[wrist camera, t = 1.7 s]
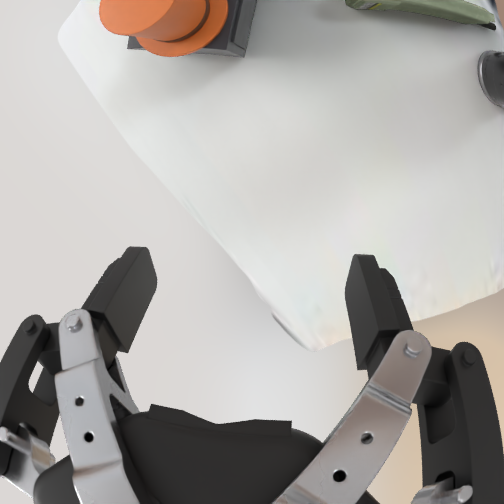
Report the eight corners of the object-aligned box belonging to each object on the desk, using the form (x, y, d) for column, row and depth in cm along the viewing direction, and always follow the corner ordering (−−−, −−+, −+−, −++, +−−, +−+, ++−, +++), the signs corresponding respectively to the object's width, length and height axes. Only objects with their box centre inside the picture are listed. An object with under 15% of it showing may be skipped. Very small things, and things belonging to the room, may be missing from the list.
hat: (237, -24, 14) (215, -60, 7) (218, 59, 19) (187, 53, 13) (145, -20, 14) (97, -39, 7) (130, 57, 19) (76, 61, 13)
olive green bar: (341, -11, 20) (487, 17, 15) (347, 10, 22) (490, 35, 17) (353, -24, 15) (512, 18, 10) (360, 0, 17) (516, 38, 12)
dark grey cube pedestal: (264, -17, 21) (254, -53, 11) (247, 58, 28) (229, 50, 19) (187, -21, 21) (149, -48, 11) (172, 52, 28) (127, 48, 19)
